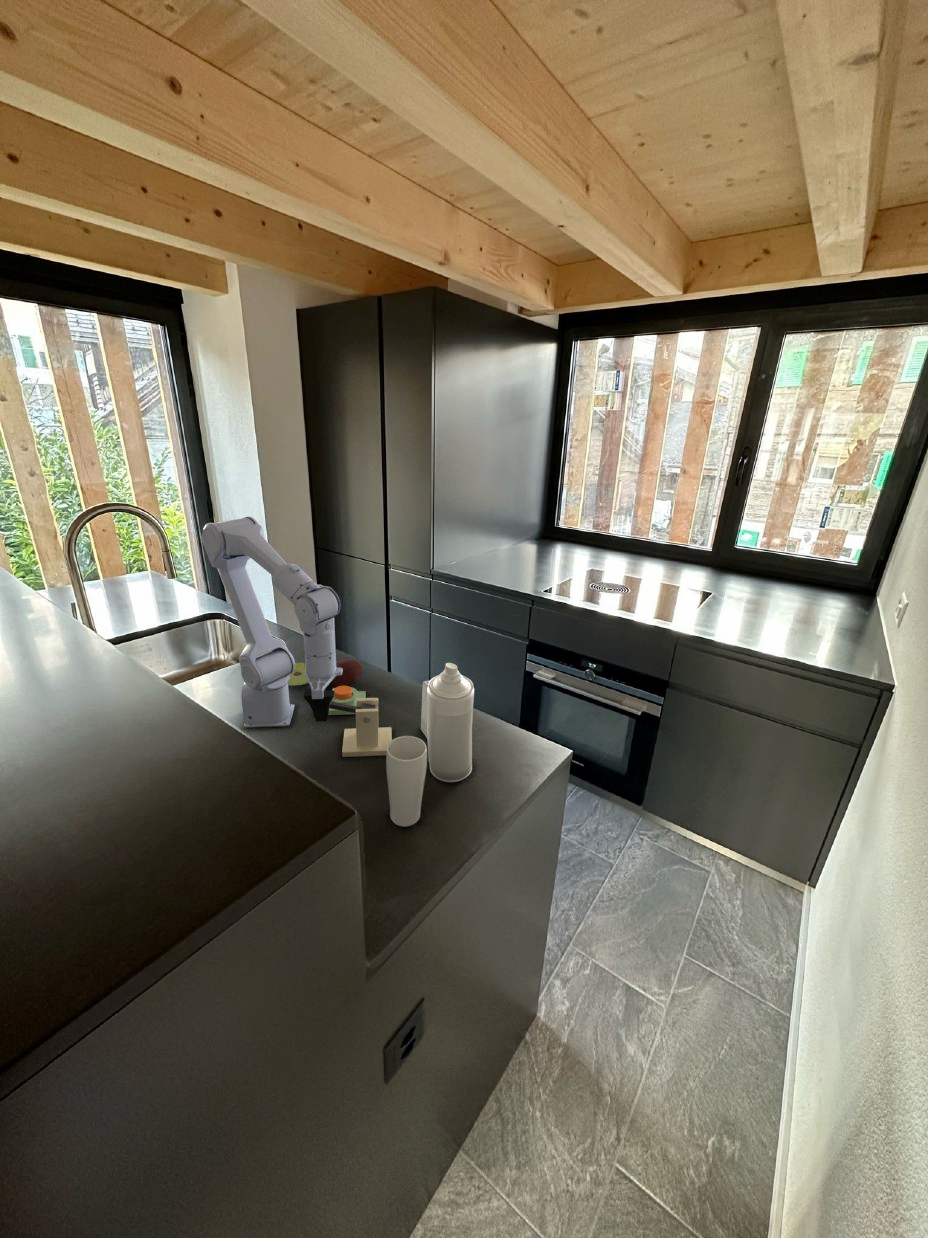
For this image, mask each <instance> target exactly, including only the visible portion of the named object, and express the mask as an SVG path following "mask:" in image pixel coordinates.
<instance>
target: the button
mask: <svg viewBox="0 0 928 1238" xmlns="http://www.w3.org/2000/svg"><path fill="white" fill-rule="evenodd" d="M334 688H335V694H334V697H335V698H336V699H339V700H345V699H348V698H350V697H351V696H352V689H351V686H339V687H334Z"/></svg>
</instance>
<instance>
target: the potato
mask: <svg viewBox="0 0 928 1238" xmlns="http://www.w3.org/2000/svg"><path fill="white" fill-rule="evenodd" d="M336 666H338V668H342V669H343V672H342V675H340V676H336V677H335V679H334V683H333V687H334V688H336V687H339V686H349V687H351V686H352V685H354V684H355V683H357V681H358V680H359V679H361V678H360V677H361V676H362V674H363V666H362V664H361V663H360V662H359V660H357V659H356V658H355V659H354V658H345V659H344V658H343V659H341V660H338V661H336Z"/></svg>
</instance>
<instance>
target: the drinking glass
mask: <svg viewBox="0 0 928 1238" xmlns="http://www.w3.org/2000/svg"><path fill="white" fill-rule="evenodd" d="M427 766H428V745H427V744H426V743H425V741H424V740H423V739H421V738H420V737H417V736H413V735H402V736H401V735H400V736H397V737H394V738H392V741H390V742H389V744H388V746H387V752H386V755H385V770H386V771H385V773H386V781H387V783H386V784H387V790H388V802H389V818H390V820H391V822H392V823H393V824H395V825H396V826H398V827H407V828H408V827H411V826H413V825H415V824H417V822H418V821H419V820H420V818H421V815H422V812H421V811H422V801H423V795H424V789H425V788H424V787H425V780H426V775H427V768H428V767H427Z"/></svg>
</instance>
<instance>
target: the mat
mask: <svg viewBox="0 0 928 1238" xmlns="http://www.w3.org/2000/svg"><path fill="white" fill-rule="evenodd" d="M305 670H306V665H305V662H295V670H294V672H293V673H291V674H290V678H291V679H289V680H288V686H302V685H305V684H309V683H308V681H307V679H306V676H305Z"/></svg>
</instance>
